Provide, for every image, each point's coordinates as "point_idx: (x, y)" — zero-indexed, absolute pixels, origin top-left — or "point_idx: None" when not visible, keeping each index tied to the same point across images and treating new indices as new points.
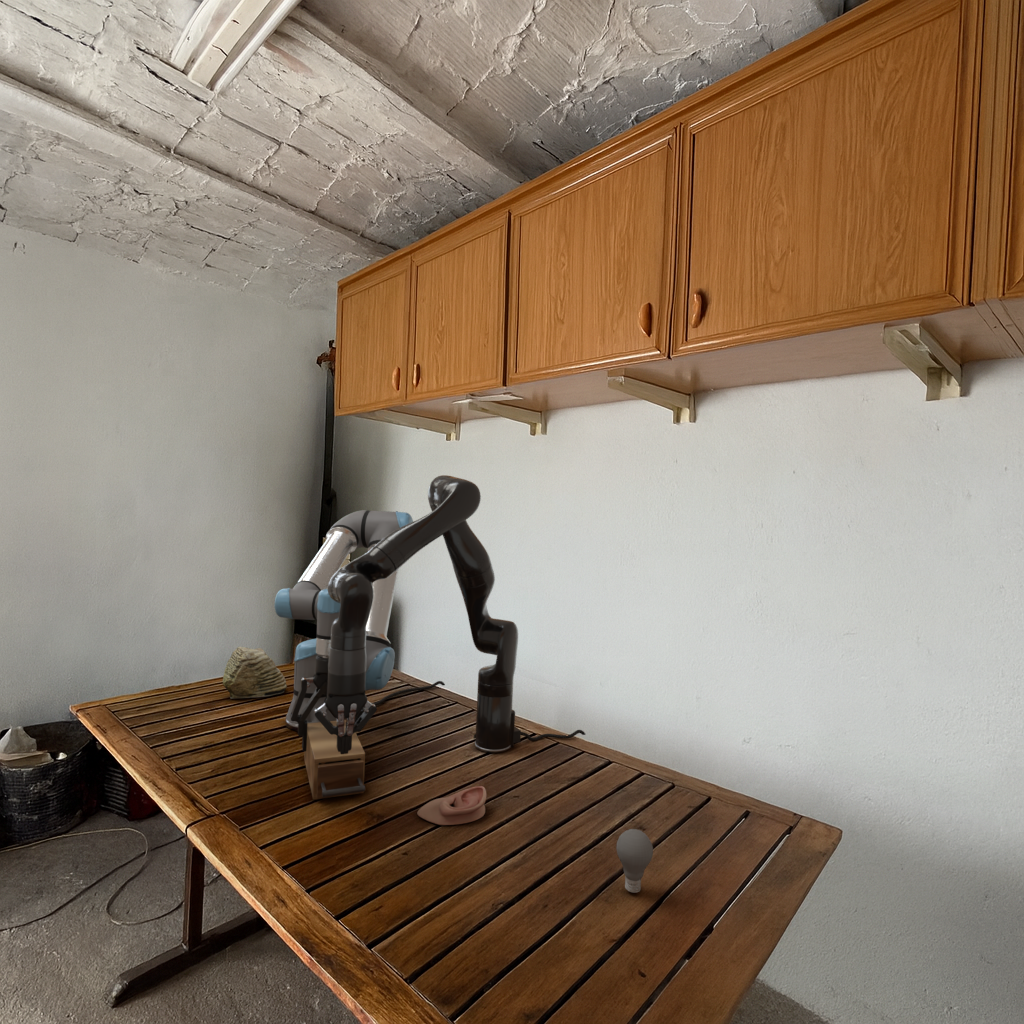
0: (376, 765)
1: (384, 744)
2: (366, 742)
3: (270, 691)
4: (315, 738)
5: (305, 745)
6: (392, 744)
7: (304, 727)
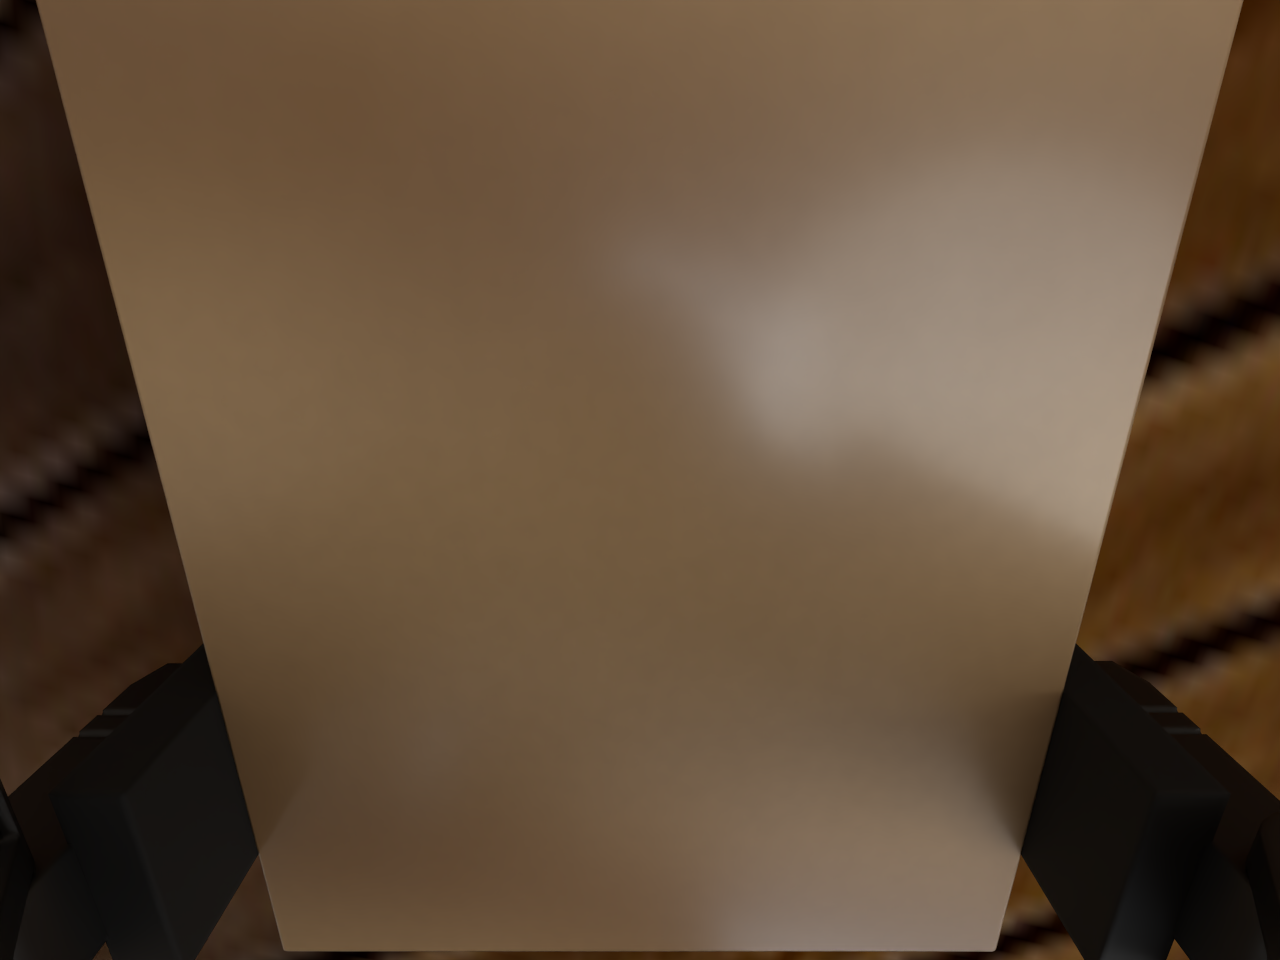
0: None
1: None
2: None
3: None
4: (1051, 203)
5: None
6: (36, 718)
7: (1154, 735)
